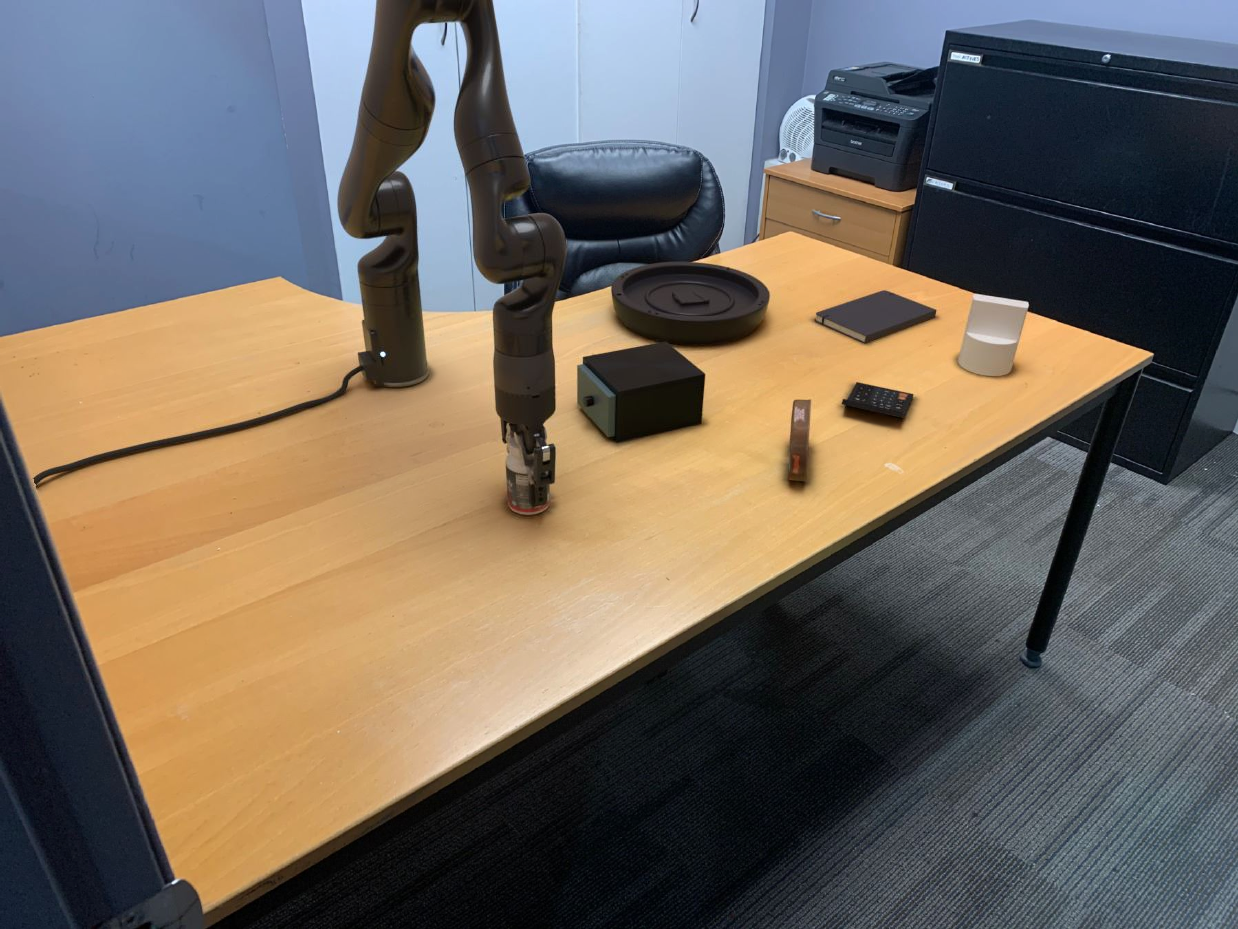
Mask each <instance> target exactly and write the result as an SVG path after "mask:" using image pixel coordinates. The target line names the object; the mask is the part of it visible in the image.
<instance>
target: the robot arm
mask: <svg viewBox="0 0 1238 929" xmlns="http://www.w3.org/2000/svg"><path fill="white" fill-rule="evenodd" d="M374 14H375V15H374V22H373V23H374V24H373V33H372V40H371V45H370V46H371V47H370V51H369V52H370V53H369V58H368V62H367V68H366V74H365V78H364V82H363V84H362V90H361V95H360V99H359V100H360V101H359V105H358V112H357V119H356V126H355V131H354V136H353V140H352V145H351V149H350V153H349V156H348V159H347V160H346V163H345V166H344V169H343V172H342V175H341V178H340V182H339V184H338V191H337V206H336V207H337V214H338V220H339V222H340V224H341V226H342V228H343V230H344V231H345V232H346V234H348V235H349V236H350V237H352V238H354V239H357V240H370V239H371V240H372V239H379V238H383V237H385V238H384V239H383V240H382V242H381V243H380V244H379V245H377V246H376V247H375V248H374V249H372V250H370V251H369V252H367V253H365V254H364V255H363V256H361V257H360V259H359V260H358V261H357V267H356V268H357V276H358V282H359V291H360V297H361V304H362V305H361V306H362V313H363V319H362V321H361V328H362V334H363V342H364V348H365V349H364V350H365V351H358V352H357V358H358V366H356V367H355V368H353V369H351V370H350V371H349V372H347V373H346V374H345V376H344V377H343V379H342V382H341V387H340V388H338V390H336V391H335V392H333V393H332V394H330V395H328V396H325V397H322V398H317V399H312V400H307V401H304V402H300V403H298V404H296V405H292V406H290V407H286V408H284V409H280V410H278V411H275V412H272V413H268V414H265V415H262V416H258V417H256V418H252V419H248V420H244V421H240V422H236V423H232V424H227V425H224V426H218V427H215V428H210V429H204V430H200V431H197V432H191V433H187V434H186V433H185V434H182V435H177V436H173V437H167V438H162V439H157V440H152V441H149V442H144V443H140V444H135V445H131V446H127V447H122V448H119V449H114V450H111V451H106V452H103V453H102V452H101V453H98V454H96V455H91V456H88V457H85V458H83V459H79V460H76V461H73V462H70V463H67V464H63V465H59V466H55V467H51V468H48V469H45V470H43V471H41V472H40V473H38V474H36V475H35V476H33V477H32V479H34V483H35V484H36V486H37V485H38V484H39V483H40V482H41V481H43V480H44V479H46V478H48V477H52V476H53V475H54V476H55V475H57V474H62V473H64V472H69V471H73V470H75V469H79V468H82V467H84V466H87V465H89V464H91V465H92V464H93V463H96V462H97V463H98V462H101V461H105V460H108V459H112V458H117V457H121V456H125V455H128V454H132V453H137V452H140V451H145V450H149V449H153V448H158V447H163V446H168V445H173V444H178V443H183V442H187V441H193V440H197V439H201V438H205V437H210V436H215V435H218V434H223V433H228V432H233V431H236V430H241V429H244V428H248V427H252V426H256V425H260V424H262V423H266V422H268V421H272V420H275V419H278V418H281V417H284V416H287V415H290V414H292V413H295V412H299V411H301V410H304V409H307V408H311V407H315V406H319V405H322V404H326V403H328V402H330V401H332V400H335V399H337V398H339V397H340V396H342V395H343V394H344V393H345V392H346V391H347V389H348V386H349V382H350V381H351V379H352V378H353V377H355V376H356V375H357V374H359V373H362V375H363V377H364V379H365V381H366V382H367V383H368V382H373V384H374V385H375V386H376V388H380V387H388V388H404V387H405V388H406V387H410V386H414V385H417V384H419V383H421V382H423V381H425V379H427V378H428V376H429V366H428V358H427V347H426V336H425V327H424V318H423V317H424V316H423V307H422V296H421V286H420V275H419V274H420V273H419V263H420V262H419V260H420V253H419V252H420V250H419V238H418V237H419V236H418V235H419V234H418V210H417V202H416V195H415V191H414V187H413V185H412V182H411V181H410V179H409V178H408V176H407V175H406V174H405V173H404V172H403V171H401V170H398V169H399V168H400V167H402V166H403V165H404V164H406V162H408V161H409V159H411V158H412V157H413V156H414V155H415V154H416V153H417V152H418V151H419V149H420V148H421V147H422V145H423V144H424V142H425V141H426V138H427V136H428V133H429V131H430V126H431V123H432V119H433V116H434V112H435V108H436V102H437V96H436V89H435V87H434V84H433V80H432V78H431V76H430V74H429V73H428V71H427V68H426V67H425V65H424V64H423V62H422V61H421V59H420V58H419V56H418V55H417V53H416V51H415V48H414V46H413V42H412V41H413V37H414V33H415V30H416V29H417V28H418V27H419V26H420V25H426V24H427V25H428V24H447V23H459V25H460V27H461V31H462V33H463V37H464V41H465V47H466V59H465V60H466V61H465V67H464V72H463V76H462V80H461V84H460V87H459V91H458V94H457V98H456V103H455V107H454V112H453V135H454V140H455V144H456V148H457V151H458V154H459V155H458V156H459V158H460V161H461V162H460V163H461V165H462V168H463V172H464V176H465V178H466V181H467V186H468V189H469V195H470V196H469V197H470V206H471V217H472V219H471V220H472V253H473V259H474V263H475V265H476V268H477V270H478V271H479V273H480V274H481V275H482V277H483V278H484V279H485V280H487V281H488V282H490V283H491V284H495V285H506V284H511V283H515V282H521V281H522V282H521V283H520V285H518V287H516V288H515V289H514V290H511V291H510V292H508V293H506V294H504V295H503V296H501V297H499V298H498V299H497V300H496V301H495V302H494V304H493V308H492V329H493V348H494V349H493V358H492V368H493V385H494V388H493V389H494V407H495V413H496V414H497V416H498V417H499V418H500V430H501V441H502V443H503V445H506V444H507V445H506V452H507V455H508V454H509V453H510V452H509V449H508V446H509V444H508V442H509V439H510V438H512V437H514V439H515V443H516V445H518V449H519V454H520V459H521V464H522V465H523V466H525V467H526V469H527V474H528V481H529V503H530V504H531V506H532V507H537V506H541V505H545V504H546V503H547V485H548V484H550V485H554V484H555V482H556V457H557V456H556V455H557V450H556V449H557V448H556V445H555V444H554V443H549V444H548V443H547V439H548V434H547V429H546V427H545V426H544V425H545V423H546V422H547V421H548V420H549V419H550V418H552V416H553V415H554V414H555V412H556V404H557V403H556V402H557V401H556V359H555V352H554V346H553V343H554V342H553V337H554V336H553V312H554V308H555V305H556V300H557V297H558V293H559V289H560V285H561V281H562V277H563V274H564V270H565V266H566V263H567V262H566V261H567V254H568V253H567V251H568V247H567V238H566V235H565V232H564V229H563V227H562V226H561V224H560V222H559V221H558V220H557V219H556V218H555V217H554V216H552V215H551V214H548V213H545V212H537V213H531V214H525V215H517V216H513V217H507V218H506V217H505V218H504V217H503V213H502V206H503V204H504V203H507V202H510V201H512V200H514V199H516V198H518V197H520V196H522V195H523V194H525V193H526V192H527V191H528V190H529V188H530V186H531V174H530V171H529V170H530V169H529V167H528V163H527V161H526V157H525V154H524V150H523V147H522V143H521V140H520V137H519V134H518V130H517V127H516V123H515V121H514V116H513V113H512V109H511V104H510V100H509V95H508V90H507V84H506V78H505V72H504V64H503V58H502V50H501V43H500V42H501V41H500V37H499V36H500V35H499V29H498V24H497V17H496V11H495V5H494V0H375V12H374ZM526 454H528V455H530V454H532V455H533V457H534V458H533V459H528V458H527V455H526ZM533 465H534V468H533Z"/></svg>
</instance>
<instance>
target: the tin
mask: <svg viewBox="0 0 1238 929" xmlns="http://www.w3.org/2000/svg"><path fill="white" fill-rule="evenodd" d="M811 411H812V399H811V398H810V399H794V400H793V401H792V410H791V418H790V433H789V450H788V451H789V457H788V468H787V479H788V481H795V482H796V481H798V482H804V483H807V476H808V475H807V474H808V473H807V470H808V459H809V458H808V457H809V444H810V430H811V427H810V426H811Z"/></svg>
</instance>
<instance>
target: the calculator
mask: <svg viewBox="0 0 1238 929" xmlns="http://www.w3.org/2000/svg"><path fill="white" fill-rule="evenodd" d="M913 399H914V393H910V392H905V391H900V390H897V389H892V388H887V387H882V386H877V385H872V384H869V383H863V382H860V381H859V382H858V381H856V382H855V384H854V386H853V387H852V389H851V391H850V393H849V395H848V397H847V399H846V398H842V401H841V405H843V406H847V407H852V408H855V409H859V410H860V409H861V410H865V411H870V412H874V413H879V414H883V415H887V416H893V417H896V418H900V419H905V418H906V416H907V414H908V411H909V408H910V406H911V404H912V401H913Z"/></svg>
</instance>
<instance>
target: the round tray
mask: <svg viewBox="0 0 1238 929" xmlns="http://www.w3.org/2000/svg"><path fill="white" fill-rule="evenodd" d="M610 288H611V289H610V292H611V299H612V305H613V309H614V310H615V313H616V316H617V317H618V318H619V320H620V321H621V322H622V324H624V326H625V327H626V328H627V329H629V330H631V331H632V332H633V333H636V334H638V335H640V336H642V337H644V338H648V339H651V340H653V341H657V342H665V341H666V342H667V343H668V344H673V345H681V346H682V345H683V346H711V345H718V344H724V343H730V342H734V341H736V340H739V339H742V338H743V337H746V336H748V335H749V334H751V333H752V332H753V331H754V330H756V329H757V328H758V327H759V325H760V324H761V323H762V321H763V319H764V318H765V315H766V312H767V309H768V307H769V303H770V298H771V294H770V291H769V289H768V287H767V285H765V283H764V282H762V281H761V280H760V279H759V278H757V277H756V276H753V275H751V274H749V273H747V272H744V271H741V270H739V269H735V268H733V267H730V266H724V265H719V264H713V263H708V262H707V263H706V262H697V261H664V262H656V263H649V264H645V265H639V266H636V267H633V268H631V269H628V270H625V271H624V272H622V273H621V274H619V275H618V276H617V277H615V279H614V280H613V282H612V283H611V287H610Z"/></svg>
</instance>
